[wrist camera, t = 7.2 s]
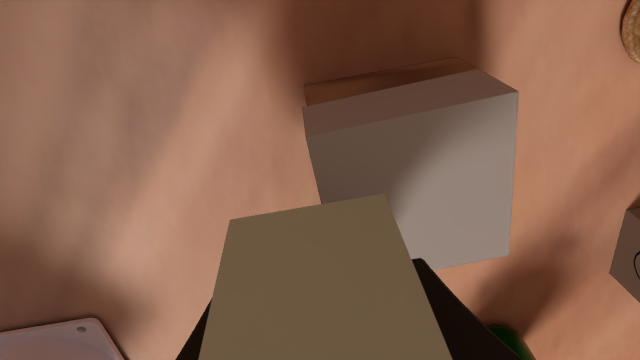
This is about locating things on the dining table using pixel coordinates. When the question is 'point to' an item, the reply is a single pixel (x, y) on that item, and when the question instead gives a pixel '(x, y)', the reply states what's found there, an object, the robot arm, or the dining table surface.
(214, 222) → the dining table surface
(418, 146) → the tower top slab
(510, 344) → the soda can
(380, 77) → the tower base slab
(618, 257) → the dice cube
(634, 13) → the sprinkles bottle
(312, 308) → the green block
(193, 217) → the dining table surface
